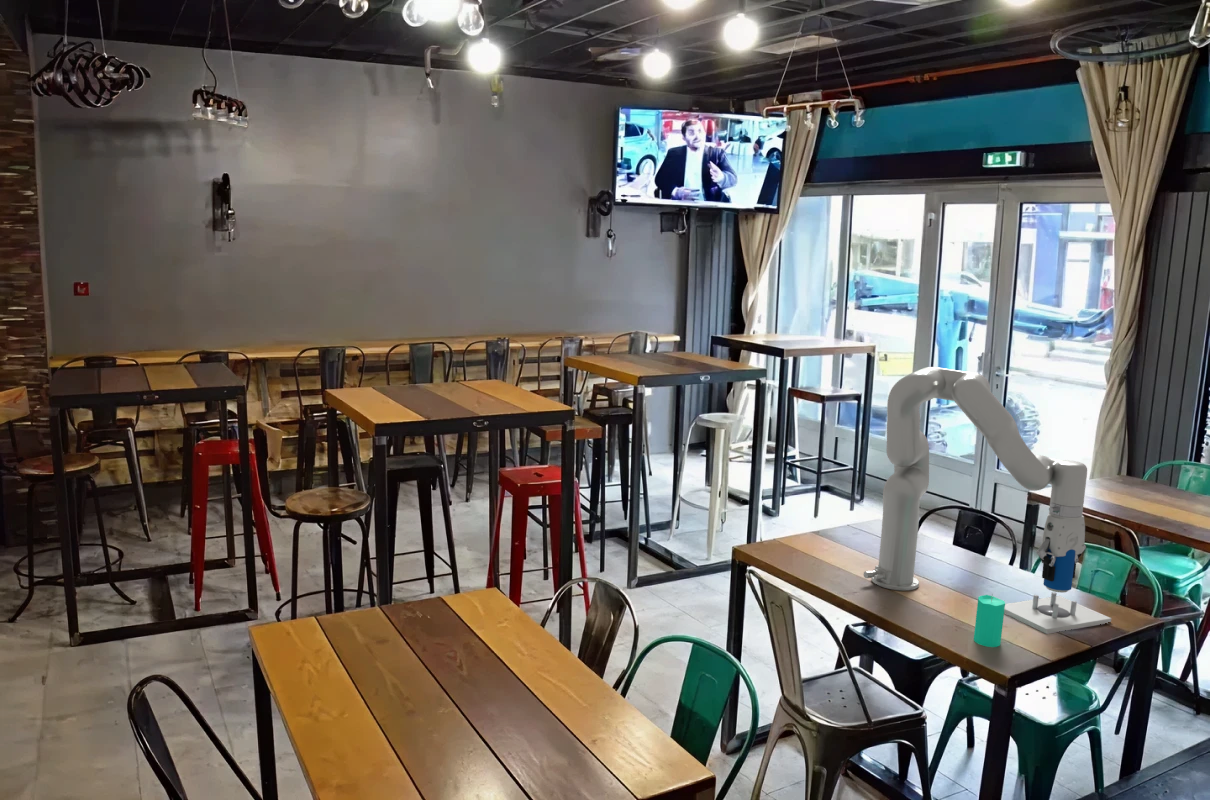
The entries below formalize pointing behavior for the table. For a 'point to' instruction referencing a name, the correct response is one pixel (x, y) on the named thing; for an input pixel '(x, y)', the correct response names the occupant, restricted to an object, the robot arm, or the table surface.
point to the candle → (989, 621)
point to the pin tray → (1054, 614)
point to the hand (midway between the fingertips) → (1058, 577)
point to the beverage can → (1062, 573)
